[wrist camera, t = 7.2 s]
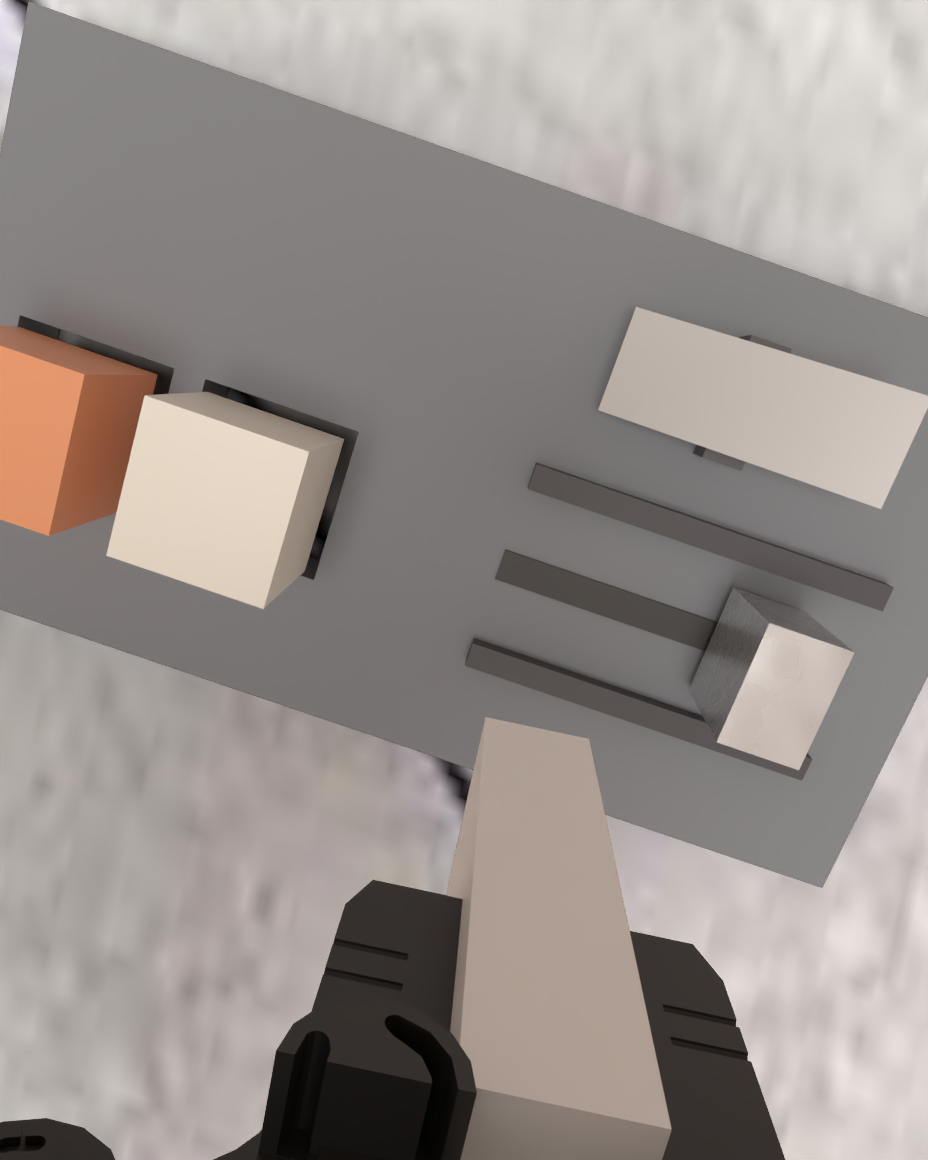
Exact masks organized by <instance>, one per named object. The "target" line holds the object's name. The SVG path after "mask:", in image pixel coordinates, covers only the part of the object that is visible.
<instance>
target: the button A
mask: <svg viewBox="0 0 928 1160" xmlns="http://www.w3.org/2000/svg"><path fill="white" fill-rule="evenodd" d="M156 380H157V374H154V373H151V372H149V371H146V370H143V369H140V368H137V367H134V366H131V365H128V364H125V363H122V362H120V361H117V360H114V359H111V358H108V357H105V356H102V355H99V354H96V353H93V352H91V351H88V350H85V349H82V348H79V347H76V346H73V345H70V344H67V343H64V342H62V341H59V340H56V339H53V338H50V337H47V336H44V335H41V334H38V333H35V332H33V331H30V330H27V329H24V328H21V327H13V326H3V325H0V520H3V521H6V522H9V523H12V524H15V525H18V526H21V527H24V528H27V529H30V530H33V531H36V532H38V533H41V534H44V535H47V536H50V535H53V534H56V533H59V532H62V531H65V530H68V529H71V528H74V527H76V526H79V525H82V524H85V523H88V522H91V521H94V520H97V519H100V518H103V517H106V516H109V515H111V514H114V513H117V509H118V504H119V500H120V496H121V492H122V488H123V483H124V479H125V475H126V471H127V467H128V463H129V458H130V454H131V450H132V446H133V442H134V438H135V433H136V429H137V425H138V421H139V417H140V413H141V408H142V404H143V400H144V396H145V395H153V392H154V388H155V384H156Z"/></svg>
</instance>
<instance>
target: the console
mask: <svg viewBox="0 0 928 1160" xmlns="http://www.w3.org/2000/svg"><path fill="white" fill-rule="evenodd" d="M636 307H639V308H642V309H645V310H648V311H652V312H655V313H658V314H661V315H665V316H668V317H671V318H675V319H678V320H681V321H684V322H688V323H691V324H694V325H698V326H701V327H704V328H707V329H711V330H714V331H717V332H721V333H724V334H727V335H730V336H734V337H737V338H740V339H744V340H747V341H750V342H753V343H757V344H760V345H763V346H767V347H770V348H773V349H776V350H780V351H783V352H786V353H790V354H793V355H796V356H799V357H803V358H806V359H809V360H812V361H816V362H819V363H822V364H826V365H829V366H832V367H835V368H839V369H842V370H845V371H849V372H852V373H855V374H858V375H862V376H865V377H868V378H872V379H875V380H878V381H881V382H885V383H888V384H891V385H895V386H898V387H901V388H904V389H908V390H911V391H914V392H918V393H921V394H924V395H927V396H928V317H925V316H922V315H919V314H916V313H913V312H911V311H908V310H905V309H902V308H899V307H896V306H893V305H891V304H888V303H885V302H882V301H879V300H876V299H874V298H871V297H868V296H865V295H862V294H859V293H856V292H854V291H851V290H848V289H845V288H842V287H839V286H837V285H834V284H831V283H828V282H825V281H822V280H819V279H817V278H814V277H811V276H808V275H805V274H802V273H800V272H797V271H794V270H791V269H788V268H785V267H783V266H780V265H777V264H774V263H771V262H768V261H765V260H763V259H760V258H757V257H754V256H751V255H748V254H746V253H743V252H740V251H737V250H734V249H731V248H728V247H726V246H723V245H720V244H717V243H714V242H711V241H709V240H706V239H703V238H700V237H697V236H694V235H691V234H689V233H686V232H683V231H680V230H677V229H674V228H672V227H669V226H666V225H663V224H660V223H657V222H654V221H652V220H649V219H646V218H643V217H640V216H637V215H635V214H632V213H629V212H626V211H623V210H620V209H618V208H615V207H612V206H609V205H606V204H603V203H600V202H598V201H595V200H592V199H589V198H586V197H583V196H581V195H578V194H575V193H572V192H569V191H566V190H563V189H561V188H558V187H555V186H552V185H549V184H546V183H544V182H541V181H538V180H535V179H532V178H529V177H526V176H524V175H521V174H518V173H515V172H512V171H509V170H507V169H504V168H501V167H498V166H495V165H492V164H490V163H487V162H484V161H481V160H478V159H475V158H472V157H470V156H467V155H464V154H461V153H458V152H455V151H453V150H450V149H447V148H444V147H441V146H438V145H435V144H433V143H430V142H427V141H424V140H421V139H418V138H416V137H413V136H410V135H407V134H404V133H401V132H398V131H396V130H393V129H390V128H387V127H384V126H381V125H379V124H376V123H373V122H370V121H367V120H364V119H361V118H359V117H356V116H353V115H350V114H347V113H344V112H342V111H339V110H336V109H333V108H330V107H327V106H325V105H322V104H319V103H316V102H313V101H310V100H307V99H305V98H302V97H299V96H296V95H293V94H290V93H288V92H285V91H282V90H279V89H276V88H273V87H270V86H268V85H265V84H262V83H259V82H256V81H253V80H251V79H248V78H245V77H242V76H239V75H236V74H233V73H231V72H228V71H225V70H222V69H219V68H216V67H214V66H211V65H208V64H205V63H202V62H199V61H197V60H194V59H191V58H188V57H185V56H182V55H179V54H177V53H174V52H171V51H168V50H165V49H162V48H160V47H157V46H154V45H151V44H148V43H145V42H142V41H140V40H137V39H134V38H131V37H128V36H125V35H123V34H120V33H117V32H114V31H111V30H108V29H105V28H103V27H100V26H97V25H94V24H91V23H88V22H86V21H83V20H80V19H77V18H74V17H71V16H68V15H66V14H63V13H60V12H57V11H54V10H51V9H49V8H46V7H43V6H40V5H37V4H34V3H32V2H28V7H27V13H26V18H25V23H24V29H23V34H22V39H21V45H20V50H19V55H18V61H17V66H16V72H15V77H14V82H13V88H12V93H11V98H10V104H9V109H8V114H7V120H6V125H5V131H4V136H3V141H2V147H1V152H0V325H3V326H13V327H21V328H24V329H27V330H30V331H33V332H35V333H38V334H41V335H44V336H47V337H50V338H53V339H56V340H57V338H58V333H59V329H62V330H65V331H68V332H70V333H73V334H76V335H79V336H82V337H85V338H88V339H91V340H94V341H97V342H99V343H102V344H105V345H108V346H111V347H114V348H117V349H120V350H123V351H126V352H128V353H131V354H134V355H137V356H140V357H143V358H146V359H149V360H152V361H155V362H157V363H160V364H163V365H166V366H169V367H172V368H174V372H173V376H172V380H171V384H170V388H169V393H168V394H177V393H195V392H210V393H212V394H215V395H218V396H221V397H224V398H226V397H227V393H228V389H229V387H230V388H233V389H236V390H239V391H242V392H244V393H247V394H250V395H253V396H256V397H259V398H262V399H265V400H268V401H271V402H273V403H276V404H279V405H282V406H285V407H288V408H291V409H294V410H297V411H300V412H302V413H305V414H308V415H311V416H314V417H317V418H320V419H323V420H326V421H329V422H331V423H334V424H337V425H340V426H343V427H346V428H349V429H352V430H355V431H357V432H359V433H358V436H357V440H356V443H355V446H354V449H353V453H352V456H351V459H350V463H349V466H348V469H347V473H346V476H345V479H344V482H343V486H342V489H341V492H340V496H339V499H338V502H337V506H336V509H335V512H334V515H333V519H332V522H331V525H330V529H329V532H328V535H327V539H326V542H325V545H324V549H323V552H322V555H321V558H320V560H318V559H315V558H312V557H309V559H308V562H307V565H306V569H305V571H304V572H303V573H302V574H301V575H300V576H299V577H298V578H297V579H296V580H295V581H294V582H293V583H291V584H290V585H289V586H288V587H287V588H286V589H285V590H284V591H283V592H282V593H281V594H279V595H278V596H277V597H276V598H275V599H274V600H273V601H272V602H271V603H270V604H269V605H267V606H266V607H265V608H264V609H262V608H259V607H256V606H253V605H250V604H247V603H244V602H241V601H238V600H235V599H232V598H229V597H226V596H223V595H221V594H218V593H215V592H212V591H209V590H206V589H203V588H200V587H197V586H194V585H191V584H188V583H185V582H182V581H179V580H177V579H174V578H171V577H168V576H165V575H162V574H159V573H156V572H153V571H150V570H147V569H144V568H141V567H138V566H135V565H132V564H130V563H127V562H124V561H121V560H118V559H115V558H112V557H109V556H106V554H107V550H108V546H109V542H110V538H111V534H112V529H113V525H114V521H115V517H116V513H114V514H111V515H109V516H106V517H103V518H100V519H97V520H94V521H91V522H88V523H85V524H82V525H79V526H76V527H74V528H71V529H68V530H65V531H62V532H59V533H56V534H53V535H50V536H47V535H44V534H41V533H38V532H36V531H33V530H30V529H27V528H24V527H21V526H18V525H15V524H12V523H9V522H6V521H3V520H0V610H3V611H6V612H9V613H12V614H15V615H18V616H21V617H24V618H26V619H29V620H32V621H35V622H38V623H41V624H44V625H47V626H50V627H53V628H56V629H59V630H62V631H65V632H68V633H71V634H74V635H77V636H80V637H83V638H86V639H88V640H91V641H94V642H97V643H100V644H103V645H106V646H109V647H112V648H115V649H118V650H121V651H124V652H127V653H130V654H133V655H136V656H139V657H142V658H145V659H148V660H150V661H153V662H156V663H159V664H162V665H165V666H168V667H171V668H174V669H177V670H180V671H183V672H186V673H189V674H192V675H195V676H198V677H201V678H204V679H207V680H210V681H212V682H215V683H218V684H221V685H224V686H227V687H230V688H233V689H236V690H239V691H242V692H245V693H248V694H251V695H254V696H257V697H260V698H263V699H266V700H269V701H272V702H275V703H277V704H280V705H283V706H286V707H289V708H292V709H295V710H298V711H301V712H304V713H307V714H310V715H313V716H316V717H319V718H322V719H325V720H328V721H331V722H334V723H337V724H339V725H342V726H345V727H348V728H351V729H354V730H357V731H360V732H363V733H366V734H369V735H372V736H375V737H378V738H381V739H384V740H387V741H390V742H393V743H396V744H399V745H401V746H404V747H407V748H410V749H413V750H416V751H419V752H422V753H425V754H428V755H431V756H434V757H437V758H440V759H443V760H446V761H449V762H452V763H455V764H458V765H461V766H463V767H466V768H469V769H472V770H474V766H475V762H476V757H477V753H478V748H479V744H480V739H481V735H482V730H483V726H484V721H485V717H488V718H493V719H497V720H502V721H507V722H512V723H516V724H521V725H526V726H531V727H535V728H540V729H545V730H549V731H554V732H559V733H564V734H568V735H573V736H578V737H583V738H587V739H589V741H590V746H591V751H592V756H593V760H594V765H595V770H596V774H597V779H598V784H599V789H600V793H601V798H602V803H603V808H604V812H605V815H608V816H611V817H614V818H617V819H620V820H623V821H626V822H629V823H632V824H635V825H638V826H641V827H644V828H647V829H650V830H652V831H655V832H658V833H661V834H664V835H667V836H670V837H673V838H676V839H679V840H682V841H685V842H688V843H691V844H694V845H697V846H700V847H703V848H706V849H709V850H712V851H714V852H717V853H720V854H723V855H726V856H729V857H732V858H735V859H738V860H741V861H744V862H747V863H750V864H753V865H756V866H759V867H762V868H765V869H768V870H771V871H774V872H776V873H779V874H782V875H785V876H788V877H791V878H794V879H797V880H800V881H803V882H806V883H809V884H812V885H815V886H818V887H821V888H822V887H823V885H824V883H825V881H826V879H827V877H828V875H829V873H830V871H831V869H832V867H833V865H834V863H835V861H836V859H837V857H838V855H839V853H840V851H841V849H842V847H843V845H844V843H845V841H846V839H847V837H848V835H849V833H850V831H851V829H852V827H853V825H854V823H855V821H856V819H857V817H858V815H859V813H860V811H861V809H862V807H863V805H864V803H865V801H866V799H867V797H868V795H869V793H870V791H871V789H872V787H873V785H874V783H875V781H876V779H877V777H878V775H879V773H880V771H881V769H882V767H883V765H884V763H885V761H886V759H887V757H888V755H889V753H890V751H891V749H892V747H893V745H894V743H895V741H896V739H897V737H898V735H899V733H900V731H901V729H902V727H903V725H904V723H905V721H906V719H907V717H908V715H909V713H910V711H911V709H912V707H913V705H914V703H915V701H916V699H917V697H918V695H919V693H920V691H921V689H922V687H923V685H924V683H925V681H926V679H927V677H928V408H927V411H926V413H925V415H924V417H923V419H922V421H921V424H920V426H919V428H918V430H917V432H916V435H915V437H914V439H913V441H912V443H911V445H910V448H909V450H908V452H907V454H906V456H905V458H904V461H903V463H902V465H901V467H900V469H899V471H898V474H897V476H896V478H895V480H894V482H893V484H892V487H891V489H890V491H889V493H888V495H887V497H886V500H885V502H884V504H883V506H882V508H881V509H879V508H876V507H874V506H871V505H868V504H865V503H862V502H859V501H856V500H854V499H851V498H848V497H845V496H842V495H839V494H836V493H834V492H831V491H828V490H825V489H822V488H819V487H816V486H814V485H811V484H808V483H805V482H802V481H799V480H796V479H794V478H791V477H788V476H785V475H782V474H779V473H776V472H774V471H771V470H768V469H765V468H762V467H759V466H756V465H754V464H751V463H748V462H745V461H742V460H739V459H737V458H734V457H731V456H728V455H725V454H722V453H719V452H717V451H714V450H711V449H708V448H705V447H702V446H699V445H697V444H694V443H691V442H688V441H685V440H682V439H679V438H677V437H674V436H671V435H668V434H665V433H662V432H659V431H657V430H654V429H651V428H648V427H645V426H642V425H639V424H637V423H634V422H631V421H628V420H625V419H622V418H619V417H617V416H614V415H611V414H608V413H605V412H602V411H599V410H598V409H599V406H600V404H601V401H602V398H603V395H604V393H605V390H606V387H607V385H608V382H609V379H610V376H611V374H612V371H613V368H614V366H615V363H616V360H617V357H618V355H619V352H620V349H621V347H622V344H623V341H624V338H625V336H626V333H627V330H628V328H629V325H630V322H631V319H632V317H633V314H634V311H635V309H636ZM733 587H734V588H737V589H740V590H743V591H746V592H749V593H752V594H755V595H758V596H760V597H763V598H766V599H769V600H772V601H775V602H778V603H781V604H784V605H787V606H789V607H792V608H795V609H798V610H801V611H804V612H806V613H808V614H809V615H810V616H811V617H812V618H814V619H815V620H816V621H817V622H819V623H820V624H821V625H822V626H823V627H825V628H826V629H827V630H828V631H829V632H831V633H832V634H833V635H834V636H836V637H837V638H838V639H839V640H840V641H842V642H843V643H844V644H845V645H846V646H848V647H849V648H850V649H851V650H853V651H854V652H855V653H854V655H853V657H852V659H851V661H850V663H849V666H848V668H847V670H846V672H845V674H844V676H843V678H842V680H841V682H840V685H839V687H838V689H837V691H836V693H835V695H834V697H833V699H832V701H831V704H830V706H829V708H828V710H827V712H826V714H825V716H824V718H823V720H822V723H821V725H820V727H819V729H818V731H817V733H816V735H815V737H814V740H813V742H812V744H811V746H810V748H809V750H808V752H807V754H806V756H805V759H804V761H803V763H802V765H801V767H800V769H799V770H797V769H794V768H791V767H788V766H785V765H782V764H779V763H776V762H773V761H770V760H767V759H764V758H761V757H758V756H755V755H753V754H750V753H747V752H744V751H741V750H738V749H735V748H732V747H729V746H726V745H723V744H720V743H717V742H716V740H715V738H714V737H713V735H712V733H711V731H710V729H709V727H708V725H707V724H706V722H705V720H704V718H703V716H702V714H701V713H700V711H699V709H698V707H697V705H696V703H695V701H694V700H693V698H692V696H691V694H690V692H689V689H690V686H691V684H692V682H693V679H694V677H695V675H696V672H697V670H698V668H699V665H700V663H701V661H702V658H703V656H704V654H705V651H706V649H707V647H708V644H709V642H710V640H711V637H712V635H713V633H714V630H715V628H716V626H717V623H718V621H719V619H720V616H721V614H722V612H723V609H724V607H725V605H726V602H727V600H728V598H729V595H730V593H731V591H732V588H733Z"/></svg>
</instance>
